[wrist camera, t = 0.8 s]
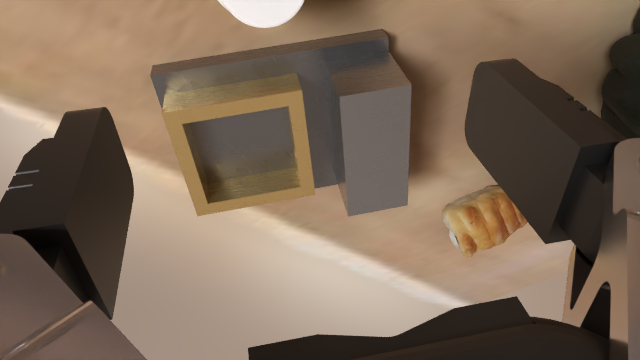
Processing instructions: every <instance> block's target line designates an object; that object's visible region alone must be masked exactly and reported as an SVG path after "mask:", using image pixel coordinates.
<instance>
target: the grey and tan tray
mask: <svg viewBox="0 0 640 360" xmlns="http://www.w3.org/2000/svg"><path fill="white" fill-rule="evenodd" d="M150 76H151V79H152V82H153V85H154V87H155V90H156V93H157V96H158V99H159V102H160V105H161V108H162V115H163V118H164V121H165V124H166V127H167V130H168V133H169V135H170V138H171V141H172V144H173V147H174V150H175V153H176V155H177V158H178V161H179V164H180V167H181V170H182V173H183V175H184V178H185V181H186V184H187V187H188V190H189V193H190V196H191V198H192V201H193V204H194V207H195V210H196V213H197V215H198V216H201V215H206V214H212V213H217V212H223V211H228V210H234V209H239V208H244V207H250V206H255V205H261V204H266V203H272V202H277V201H283V200H288V199H294V198H299V197H304V196H310V195H315V188H319V187H325V186H330V185H336V184H338V186H339V189H340V192H341V195H342V198H343V202H344V205H345V208H346V211H347V214H348V216H353V215H358V214H364V213H369V212H374V211H380V210H385V209H390V208H396V207H401V206H406V205H408V176H409V147H410V118H411V89H412V84H411V83H410V82H409V80H408V79H407V77H406V76H405V74H404V73H403V71H402V70H401V69H400V67H399V66H398V64H397V63H396V61H395V60H394V58H393V57H392V55H391V54H390V53H389V37H388V36H387V35H386V33H385V32H384V30H383V29H381V30H374V31H368V32H362V33H355V34H349V35H343V36H336V37H330V38H324V39H317V40H311V41H305V42H299V43H292V44H286V45H280V46H273V47H267V48H261V49H254V50H248V51H242V52H235V53H229V54H223V55H217V56H210V57H204V58H198V59H191V60H185V61H179V62H172V63H166V64H160V65H153V66H152V71H151V75H150Z"/></svg>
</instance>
